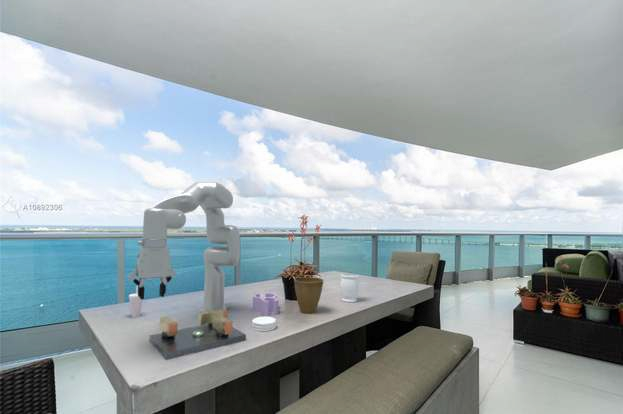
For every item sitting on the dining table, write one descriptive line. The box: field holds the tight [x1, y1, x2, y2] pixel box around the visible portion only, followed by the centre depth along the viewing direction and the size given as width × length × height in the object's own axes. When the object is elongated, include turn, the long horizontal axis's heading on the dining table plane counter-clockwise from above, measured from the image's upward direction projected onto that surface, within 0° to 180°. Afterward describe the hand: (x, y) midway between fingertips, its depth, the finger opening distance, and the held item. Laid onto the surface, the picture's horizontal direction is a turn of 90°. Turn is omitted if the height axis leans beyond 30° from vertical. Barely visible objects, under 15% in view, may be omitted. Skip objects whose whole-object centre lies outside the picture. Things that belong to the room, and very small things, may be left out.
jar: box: [340, 273, 360, 303], centre depth 182 cm, size 11×10×15 cm
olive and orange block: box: [159, 315, 179, 338], centre depth 113 cm, size 11×4×5 cm, turn 41°
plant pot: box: [293, 276, 324, 314], centre depth 158 cm, size 15×15×16 cm
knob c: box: [212, 315, 234, 336], centre depth 116 cm, size 11×4×5 cm, turn 41°
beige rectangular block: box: [197, 309, 229, 327], centre depth 126 cm, size 11×4×5 cm, turn 131°
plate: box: [149, 324, 247, 360], centre depth 115 cm, size 20×28×3 cm
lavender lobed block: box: [252, 291, 279, 317], centre depth 158 cm, size 20×12×7 cm, turn 24°
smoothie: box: [128, 284, 144, 318], centre depth 143 cm, size 6×6×14 cm
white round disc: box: [251, 316, 277, 333], centre depth 131 cm, size 10×10×4 cm
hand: (151, 296), depth 107 cm, fingers open, 5 cm apart
